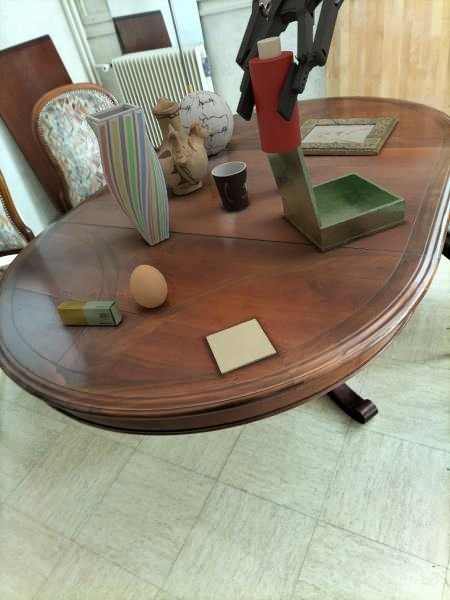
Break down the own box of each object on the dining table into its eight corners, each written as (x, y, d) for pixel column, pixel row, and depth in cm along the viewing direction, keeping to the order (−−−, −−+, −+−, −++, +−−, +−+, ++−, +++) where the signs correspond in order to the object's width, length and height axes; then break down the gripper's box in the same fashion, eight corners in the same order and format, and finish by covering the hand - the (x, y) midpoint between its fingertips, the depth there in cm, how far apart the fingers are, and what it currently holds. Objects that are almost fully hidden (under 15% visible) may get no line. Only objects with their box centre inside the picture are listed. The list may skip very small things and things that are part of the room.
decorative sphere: (196, 144, 155) (182, 86, 143) (246, 140, 147) (236, 79, 135) (172, 167, 141) (154, 104, 129) (226, 163, 133) (212, 97, 121)
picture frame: (377, 156, 115) (378, 146, 113) (276, 155, 129) (275, 147, 128) (397, 122, 132) (397, 114, 130) (306, 125, 146) (305, 117, 145)
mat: (276, 353, 64) (276, 351, 64) (222, 374, 63) (221, 372, 63) (255, 320, 72) (255, 318, 71) (206, 338, 70) (206, 336, 70)
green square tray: (355, 192, 100) (354, 171, 97) (404, 222, 86) (405, 199, 83) (284, 216, 98) (281, 196, 95) (322, 252, 84) (320, 228, 80)
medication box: (123, 317, 80) (117, 300, 78) (117, 326, 78) (111, 308, 76) (70, 317, 83) (62, 300, 81) (62, 325, 81) (54, 308, 79)
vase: (142, 259, 96) (90, 126, 78) (122, 240, 106) (72, 117, 88) (192, 235, 100) (154, 103, 82) (168, 218, 110) (130, 98, 92)
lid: (256, 109, 83) (252, 111, 83) (297, 129, 68) (292, 132, 68) (283, 193, 95) (279, 195, 95) (322, 225, 80) (318, 227, 80)
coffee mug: (232, 196, 113) (224, 160, 107) (259, 199, 108) (252, 162, 102) (206, 217, 106) (197, 180, 100) (233, 221, 101) (225, 183, 95)
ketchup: (308, 145, 61) (299, 34, 53) (270, 157, 60) (255, 47, 52) (291, 135, 66) (280, 32, 57) (256, 146, 65) (239, 44, 57)
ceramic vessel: (144, 201, 123) (114, 112, 108) (181, 173, 134) (158, 90, 119) (194, 205, 113) (169, 109, 98) (229, 175, 125) (211, 85, 110)
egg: (174, 309, 79) (160, 271, 73) (139, 320, 78) (122, 282, 73) (170, 290, 84) (157, 252, 79) (138, 299, 84) (122, 262, 78)
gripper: (387, -44, 54) (336, 129, 55) (266, -16, 65) (224, 128, 66) (371, -96, 48) (313, 100, 49) (240, -55, 59) (195, 103, 60)
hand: (262, 115), depth 58 cm, fingers closed on ketchup, 6 cm apart
